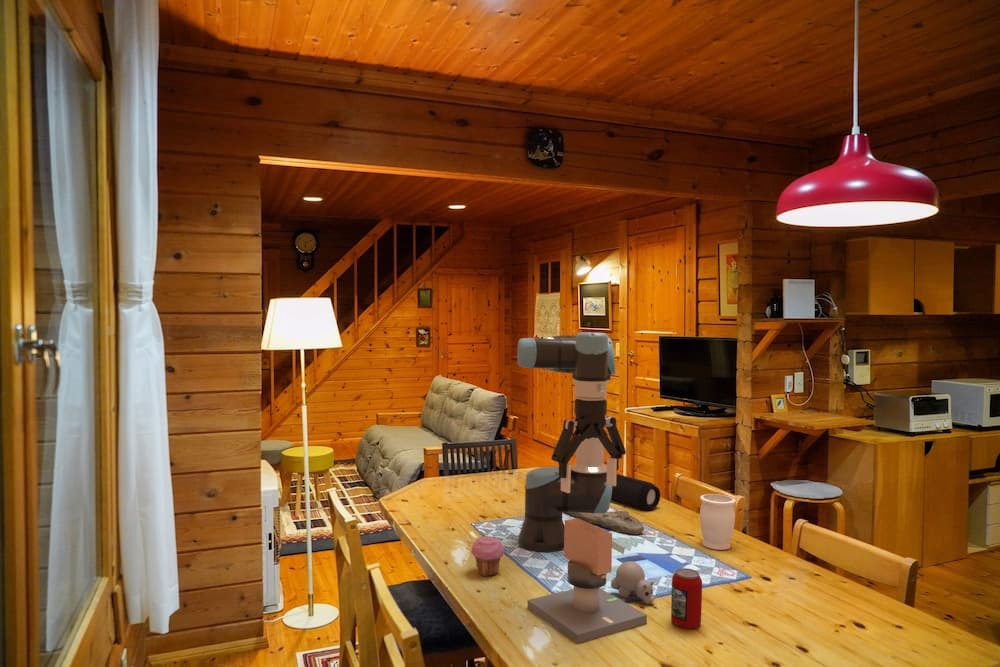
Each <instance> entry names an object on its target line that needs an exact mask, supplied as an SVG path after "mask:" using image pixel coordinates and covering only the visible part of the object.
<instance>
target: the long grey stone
mask: <svg viewBox="0 0 1000 667" xmlns="http://www.w3.org/2000/svg"><path fill="white" fill-rule="evenodd" d="M563 513H565V514H568V515H569V516H573V517H575V518H579V519H581V520H583V521H586V522H588V523H590V524H592V525H598V526H600V527H603V528H605V529H607V528H608V529H607V530H612V531H615V532H617V531H618V533H620V532H622V533H626V534H631V535H639V534H642V533H643V532H644V531H645V527H644V526H643V522H641V521H640V520H639V518H636V517H635V516H633V515H631V514H630V513H629V512H628V510H620V511H619V510H615V511H607V512H606V513H594V514H592V513H579V512H563Z"/></svg>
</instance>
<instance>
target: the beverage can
mask: <svg viewBox="0 0 1000 667" xmlns="http://www.w3.org/2000/svg"><path fill="white" fill-rule="evenodd" d="M702 601H703V580H702V578H701V576H700V573H699V571H697V570H695V569H693V568H686V567H685V568H684V567H682V568H677V569H676V570H675V573H674V574H673V575H672V577H671V602H670V603H671V605H670V608H671V610H670V611H671V612H670V619H671V621H672V622H673V623H674V624H675V625H676V626H678V627H680V628H683V629H695V628H697V627H698V626H700V625H701V623H702V605H703V602H702Z"/></svg>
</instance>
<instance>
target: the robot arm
mask: <svg viewBox="0 0 1000 667" xmlns="http://www.w3.org/2000/svg"><path fill="white" fill-rule="evenodd" d="M516 352H517V353H516V354H517V355H516V356H517V365H518V366H519V367H520V368H527V369H542V370H545V371H550V372H555V373H561V374H563V373H564V374H572V378H571V379H572V381H573V382H574V397H576V398H575V400H574V415H575V419H574V420H568V419H564V421H563V426H562V431H561V433H560V436H559V438H558V440H557V443H556V446H555V448H554V450H553V453H552V455H551V461H553V462H556V463H558V466H543V467H537V468H534V469H531V470H529V471H528V472H527V474H526V475H525V483H524V489H525V490H524V491H525V494H524V496H525V497H524V519H523V522H522V524H521V528H520V532H519V534H518V544H519V546H520V547H522V548H524V549H525V550H529V551H535V552H543V553H544V552H545V553H547V552H557V551H558V552H559V551H561V550H564V526H565V523H564V521H563V513H564V512H579V513H592V514H594V513H606V512H609V509H610V506H611V501H612V500H611V495H612V486H616V474H618V473H617V472H618V471H619V460H621V459H622V458H623V456H624V455H626V453H627V451H626V448H625V445H624V443H623V441H622V438H621V435H620V431H619V429H618V427H617V419H616V417H613V416H607V414H608V410H607V409H608V403H607V402H608V400H607V399H606V398H607V397H608V383H609V382H610V381H611V378H612V377H611V376H613V375H615V374H616V372H617V371H616V360H615V353H614V346H613V341H612V339H611V338H610V337H609V335H608V334H607V333H604V332H589V331H588V332H578V333H577V334H576V335H575V334H574V335H573V334H572V335H569V334H568V335H567V334H562V335H561V334H560V335H559V334H558V335H553V336H548V337H543V338H542V337H541V338H538V337H527V338H526V337H525V338H524V337H523V338H519V340H518V343H517V351H516ZM605 427H606V429H607V432H606V430H605ZM608 435H609V436H608ZM605 450H606V452H607V454H609V456H607V457H606V464H605V463H604V462H605ZM574 454H575V462H574V464H573V465H571V464H570V463H569V462H570V461H571V459H572V458H573V456H574Z"/></svg>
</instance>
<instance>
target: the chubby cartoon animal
mask: <svg viewBox="0 0 1000 667" xmlns="http://www.w3.org/2000/svg"><path fill="white" fill-rule="evenodd" d="M645 579H646V574H645V571H644V569H643V567H642V566H641V565H640V564H639V563H638V562H635V561H631V560H630V561H629V560H627V561H624V562H622V563H621V564H620V565H619V566H618V567H617V569H616V572H615V576H614V577H613V579H611V581H610V586H611V588H612V589H614V590H619V595H620V597H621V598H623V599H629V597H630V595H633V596H636V595H637V596H638V597H639V598H641V599H642V601H643V602H644V603H645V604H646V605H651V604H653V603H654V601H655V600H656V595H655V594H654V593H653V592H654V591H653V590H654V588H653V586H654V584H655V581H647V580H645Z"/></svg>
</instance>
